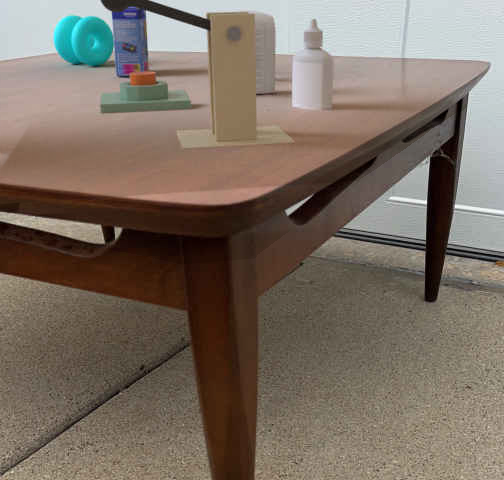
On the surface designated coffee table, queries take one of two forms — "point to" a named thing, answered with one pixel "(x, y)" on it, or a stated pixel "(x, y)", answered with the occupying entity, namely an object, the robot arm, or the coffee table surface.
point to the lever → (158, 11)
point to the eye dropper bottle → (312, 73)
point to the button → (143, 78)
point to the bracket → (232, 87)
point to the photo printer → (264, 52)
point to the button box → (144, 98)
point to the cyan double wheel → (83, 40)
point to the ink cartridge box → (130, 41)
